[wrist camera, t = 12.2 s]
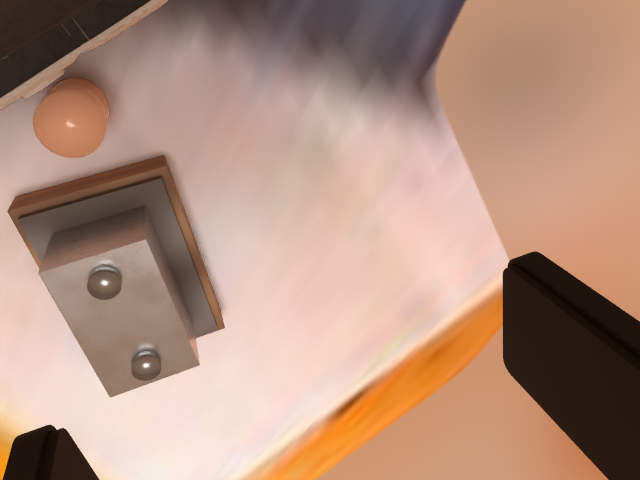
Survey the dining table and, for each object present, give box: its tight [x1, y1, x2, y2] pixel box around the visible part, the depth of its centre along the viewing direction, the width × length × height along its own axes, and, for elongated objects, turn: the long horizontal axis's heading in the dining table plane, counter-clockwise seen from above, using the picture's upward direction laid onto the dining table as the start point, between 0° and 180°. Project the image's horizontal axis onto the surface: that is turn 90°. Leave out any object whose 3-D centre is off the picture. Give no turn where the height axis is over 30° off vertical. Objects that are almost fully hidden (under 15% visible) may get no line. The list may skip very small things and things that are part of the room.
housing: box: [38, 205, 200, 397], centre depth 33 cm, size 10×6×6 cm, turn 11°
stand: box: [7, 156, 225, 338], centre depth 37 cm, size 14×10×3 cm
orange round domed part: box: [33, 78, 109, 158], centre depth 30 cm, size 4×4×5 cm
